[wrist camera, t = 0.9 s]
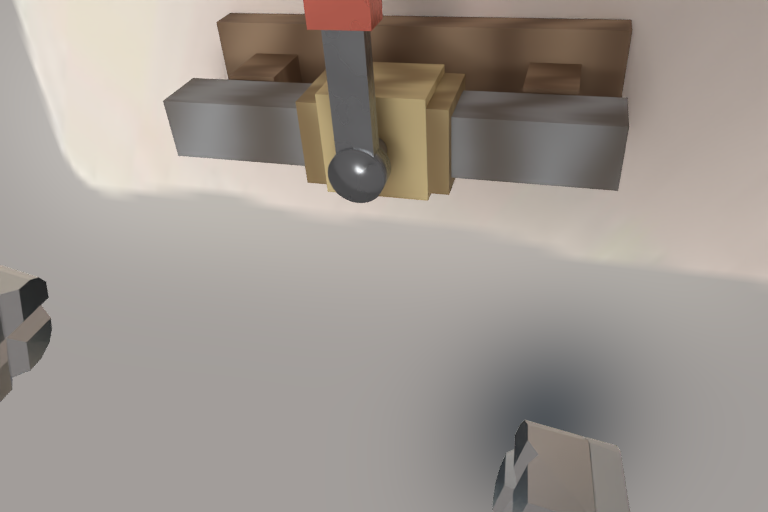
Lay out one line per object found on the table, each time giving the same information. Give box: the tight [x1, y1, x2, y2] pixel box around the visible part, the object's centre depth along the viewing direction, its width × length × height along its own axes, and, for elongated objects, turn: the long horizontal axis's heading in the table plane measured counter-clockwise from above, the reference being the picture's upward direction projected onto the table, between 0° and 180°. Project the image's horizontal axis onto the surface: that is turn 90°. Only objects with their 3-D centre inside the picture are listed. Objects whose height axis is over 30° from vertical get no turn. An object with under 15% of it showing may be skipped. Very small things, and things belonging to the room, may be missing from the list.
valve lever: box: [303, 0, 391, 203], centre depth 30 cm, size 15×3×2 cm, turn 3°
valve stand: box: [163, 13, 632, 200], centre depth 39 cm, size 26×8×12 cm, turn 93°
